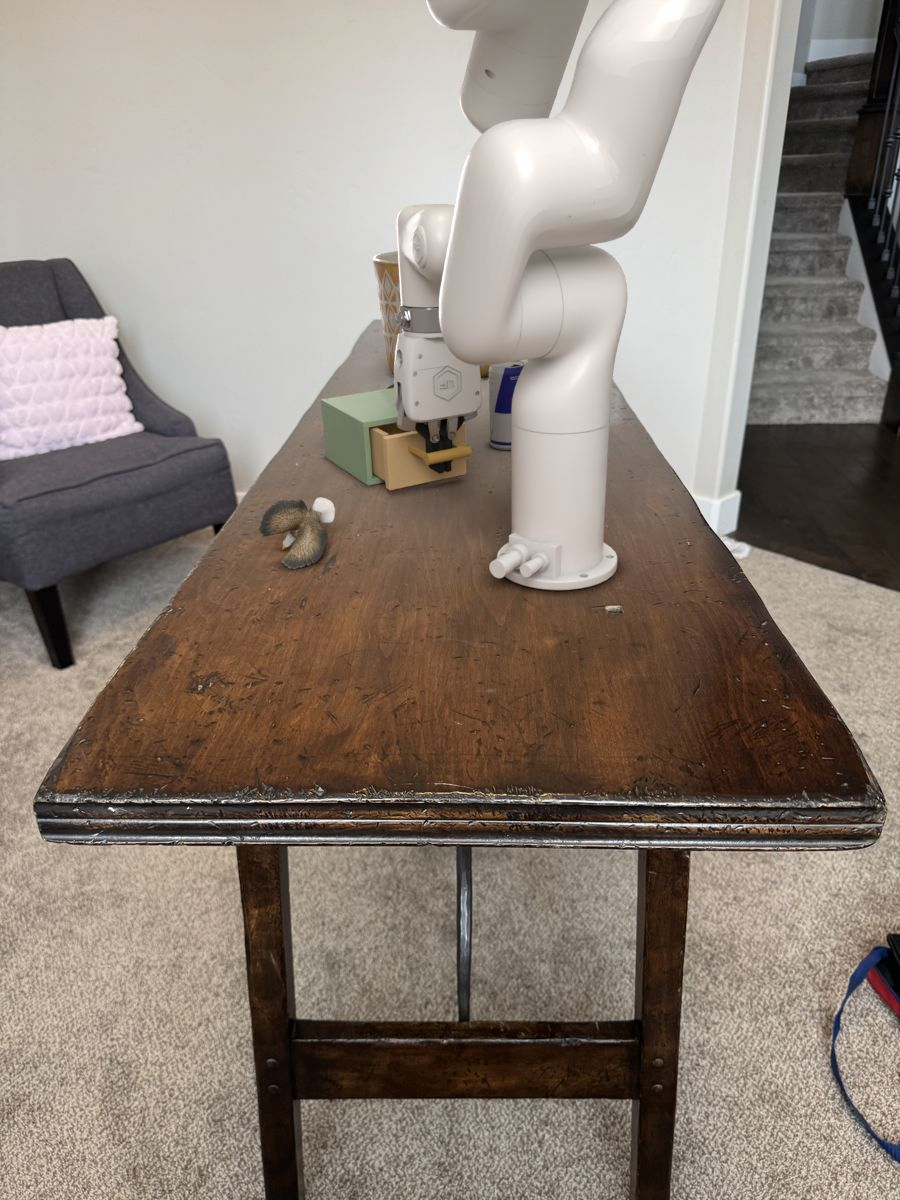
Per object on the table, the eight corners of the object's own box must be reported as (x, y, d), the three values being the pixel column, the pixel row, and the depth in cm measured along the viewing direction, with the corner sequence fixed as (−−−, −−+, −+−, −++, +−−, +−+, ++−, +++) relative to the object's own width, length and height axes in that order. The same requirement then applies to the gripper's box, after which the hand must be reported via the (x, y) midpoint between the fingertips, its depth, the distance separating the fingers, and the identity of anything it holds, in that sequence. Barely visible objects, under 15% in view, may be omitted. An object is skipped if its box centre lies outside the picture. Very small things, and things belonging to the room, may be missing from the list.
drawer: (491, 487, 114) (490, 435, 110) (411, 505, 109) (408, 451, 106) (420, 449, 129) (417, 402, 126) (347, 463, 124) (343, 415, 121)
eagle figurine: (264, 527, 103) (243, 544, 94) (293, 475, 101) (274, 487, 92) (320, 561, 104) (305, 581, 95) (351, 510, 102) (338, 526, 93)
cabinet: (450, 468, 123) (448, 407, 120) (367, 486, 118) (362, 422, 114) (403, 443, 135) (400, 386, 131) (326, 457, 130) (320, 399, 126)
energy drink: (523, 451, 129) (523, 367, 124) (487, 449, 131) (485, 367, 125) (527, 440, 134) (528, 359, 129) (492, 439, 135) (491, 359, 130)
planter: (503, 387, 164) (503, 261, 154) (367, 386, 168) (357, 263, 158) (516, 357, 187) (516, 246, 177) (395, 357, 191) (389, 248, 181)
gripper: (390, 331, 98) (400, 489, 106) (505, 316, 104) (505, 466, 112) (362, 322, 104) (373, 472, 112) (472, 309, 110) (475, 452, 118)
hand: (439, 469), depth 112 cm, fingers closed
